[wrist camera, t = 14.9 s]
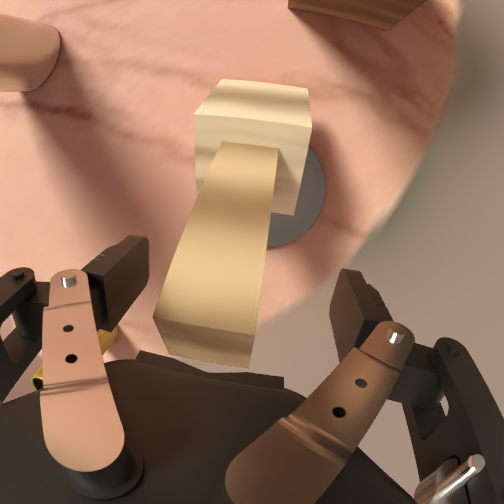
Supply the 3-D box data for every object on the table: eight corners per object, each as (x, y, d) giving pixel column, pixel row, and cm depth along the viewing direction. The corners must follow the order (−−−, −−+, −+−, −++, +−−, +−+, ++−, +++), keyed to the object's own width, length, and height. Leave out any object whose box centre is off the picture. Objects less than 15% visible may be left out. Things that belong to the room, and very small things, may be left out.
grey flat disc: (177, 177, 29) (175, 177, 28) (275, 101, 25) (274, 100, 25) (250, 266, 32) (250, 269, 31) (347, 202, 28) (348, 204, 28)
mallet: (282, 383, 13) (321, 316, 8) (142, 359, 14) (91, 277, 8) (295, 158, 27) (307, 88, 21) (220, 149, 27) (221, 79, 21)
